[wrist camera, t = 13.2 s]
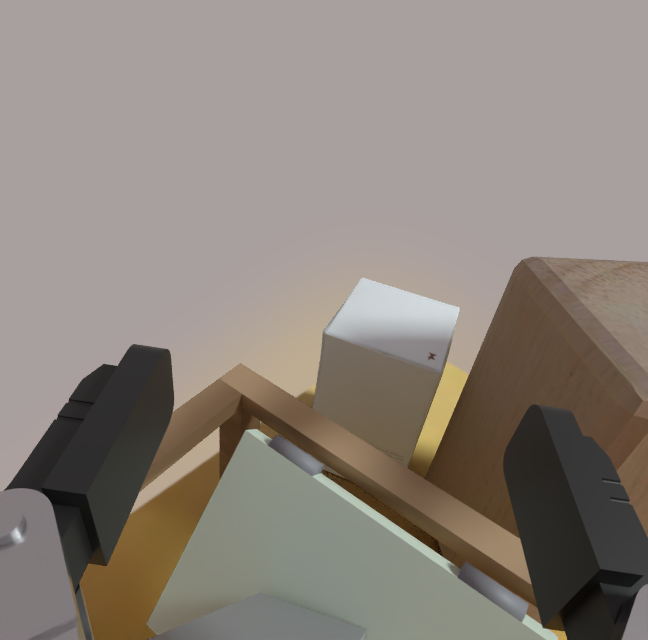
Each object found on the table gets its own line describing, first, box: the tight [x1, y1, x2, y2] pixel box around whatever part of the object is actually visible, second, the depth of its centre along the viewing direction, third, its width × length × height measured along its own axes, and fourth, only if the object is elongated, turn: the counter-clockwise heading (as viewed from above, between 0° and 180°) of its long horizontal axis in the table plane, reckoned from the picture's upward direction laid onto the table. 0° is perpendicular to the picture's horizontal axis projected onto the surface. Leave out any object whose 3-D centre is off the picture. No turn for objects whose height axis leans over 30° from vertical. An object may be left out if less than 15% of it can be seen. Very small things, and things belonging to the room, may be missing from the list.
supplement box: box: [307, 277, 460, 479], centre depth 34 cm, size 7×7×13 cm
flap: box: [146, 429, 558, 640], centre depth 20 cm, size 14×10×1 cm
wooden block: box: [425, 257, 648, 625], centre depth 27 cm, size 10×10×20 cm
